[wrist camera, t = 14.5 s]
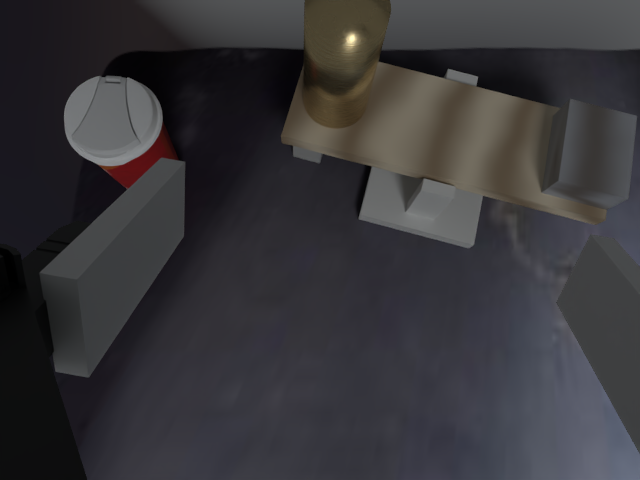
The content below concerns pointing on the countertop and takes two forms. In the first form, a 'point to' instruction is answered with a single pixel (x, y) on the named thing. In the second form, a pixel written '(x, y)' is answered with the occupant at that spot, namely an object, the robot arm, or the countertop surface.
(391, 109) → the beam
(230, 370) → the countertop surface
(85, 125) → the paper cup
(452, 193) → the seesaw stand
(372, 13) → the olive round cylinder
